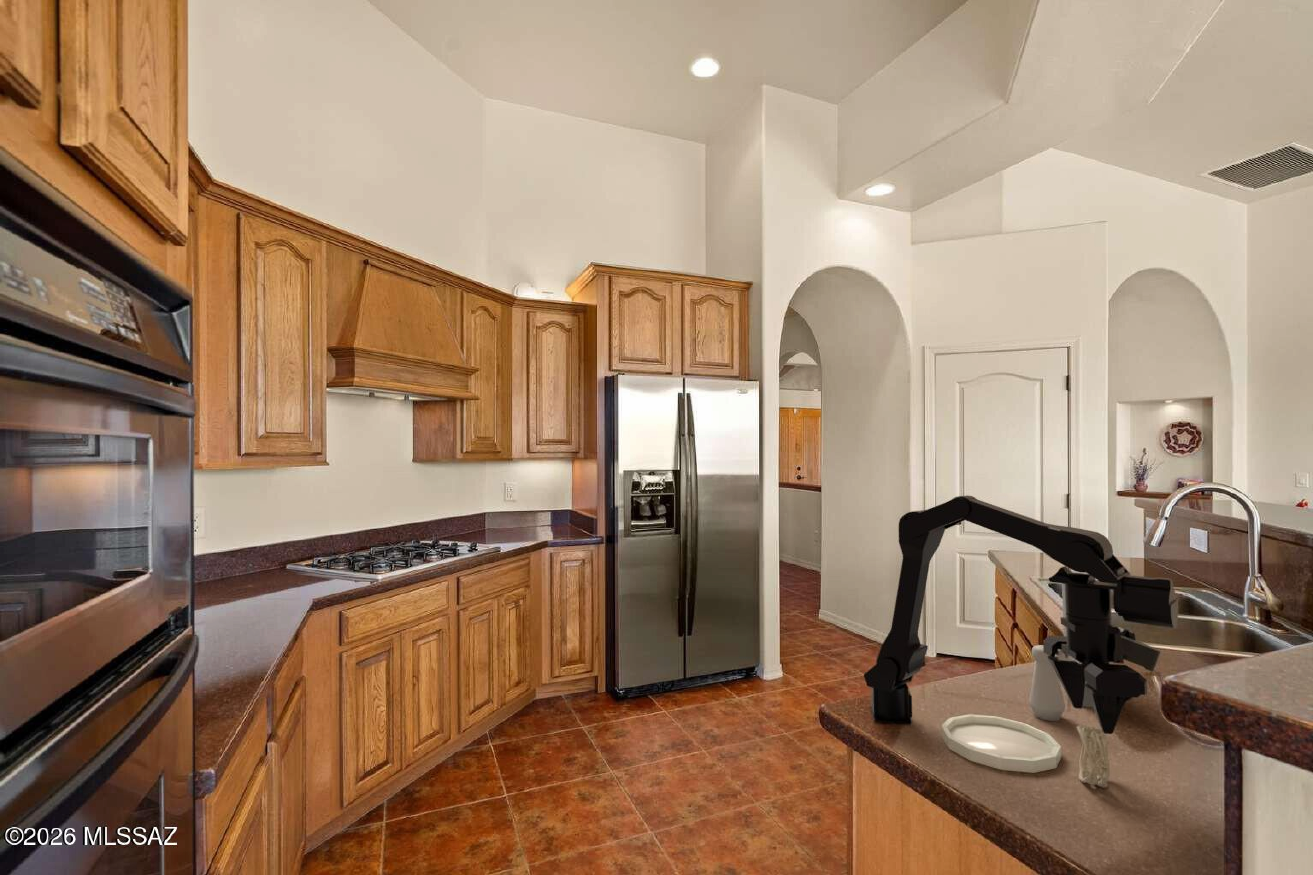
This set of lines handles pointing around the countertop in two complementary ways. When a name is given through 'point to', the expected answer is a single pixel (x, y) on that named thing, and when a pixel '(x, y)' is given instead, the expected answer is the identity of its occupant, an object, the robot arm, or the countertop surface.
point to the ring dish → (1001, 743)
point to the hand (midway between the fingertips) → (1092, 720)
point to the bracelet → (1094, 756)
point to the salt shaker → (1045, 688)
